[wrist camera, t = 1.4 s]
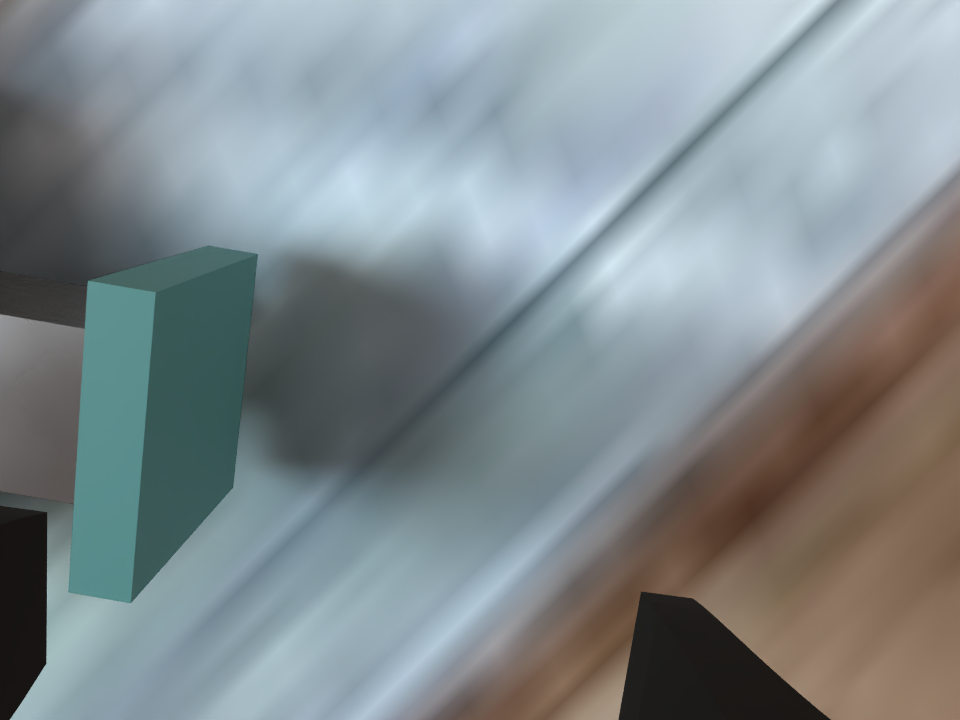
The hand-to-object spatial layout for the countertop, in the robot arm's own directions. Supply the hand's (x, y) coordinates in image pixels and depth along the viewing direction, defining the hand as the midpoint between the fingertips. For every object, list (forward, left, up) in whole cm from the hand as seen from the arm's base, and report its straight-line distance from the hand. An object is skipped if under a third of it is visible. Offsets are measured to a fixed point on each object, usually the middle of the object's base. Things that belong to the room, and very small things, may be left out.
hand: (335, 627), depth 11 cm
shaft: (+8, 0, -8) cm, 12 cm away
